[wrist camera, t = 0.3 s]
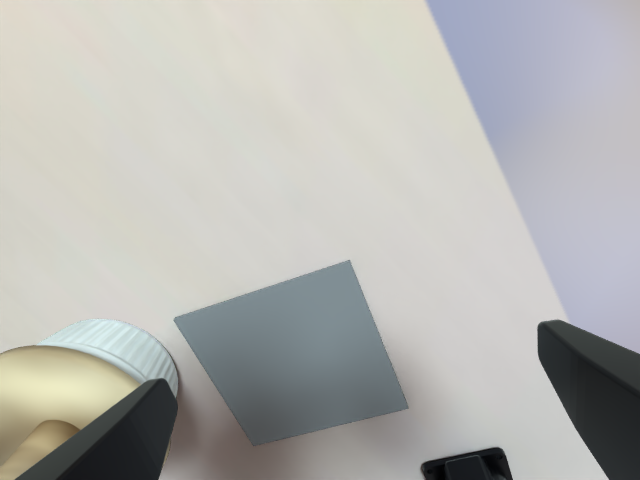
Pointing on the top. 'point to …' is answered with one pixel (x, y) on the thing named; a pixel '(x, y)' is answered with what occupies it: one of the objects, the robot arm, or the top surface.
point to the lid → (51, 400)
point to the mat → (296, 355)
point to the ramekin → (119, 348)
